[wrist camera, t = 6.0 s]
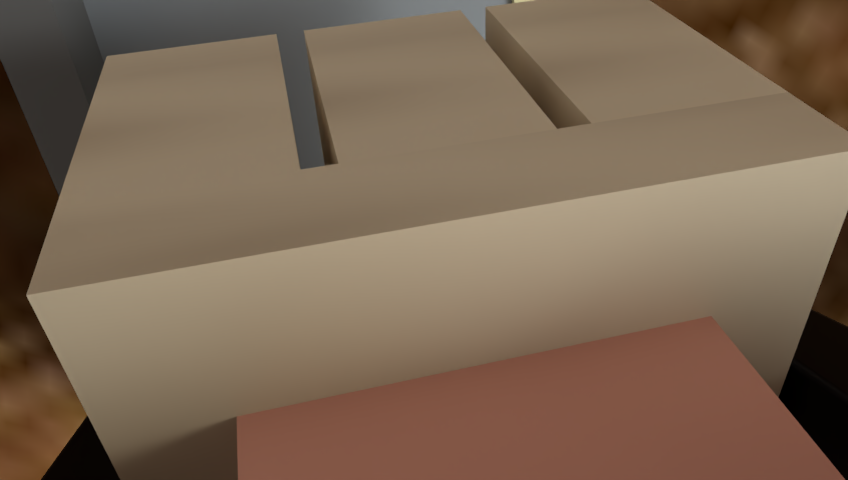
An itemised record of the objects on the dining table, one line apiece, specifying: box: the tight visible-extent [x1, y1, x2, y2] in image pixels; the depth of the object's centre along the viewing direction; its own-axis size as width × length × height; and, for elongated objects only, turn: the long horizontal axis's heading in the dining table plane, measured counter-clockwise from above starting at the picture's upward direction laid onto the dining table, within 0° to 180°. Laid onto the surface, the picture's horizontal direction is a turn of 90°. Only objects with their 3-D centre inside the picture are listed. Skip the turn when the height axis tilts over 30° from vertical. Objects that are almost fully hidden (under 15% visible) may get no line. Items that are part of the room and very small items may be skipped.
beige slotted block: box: [26, 0, 848, 480], centre depth 9 cm, size 7×6×4 cm
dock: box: [0, 0, 534, 196], centre depth 13 cm, size 11×8×4 cm
